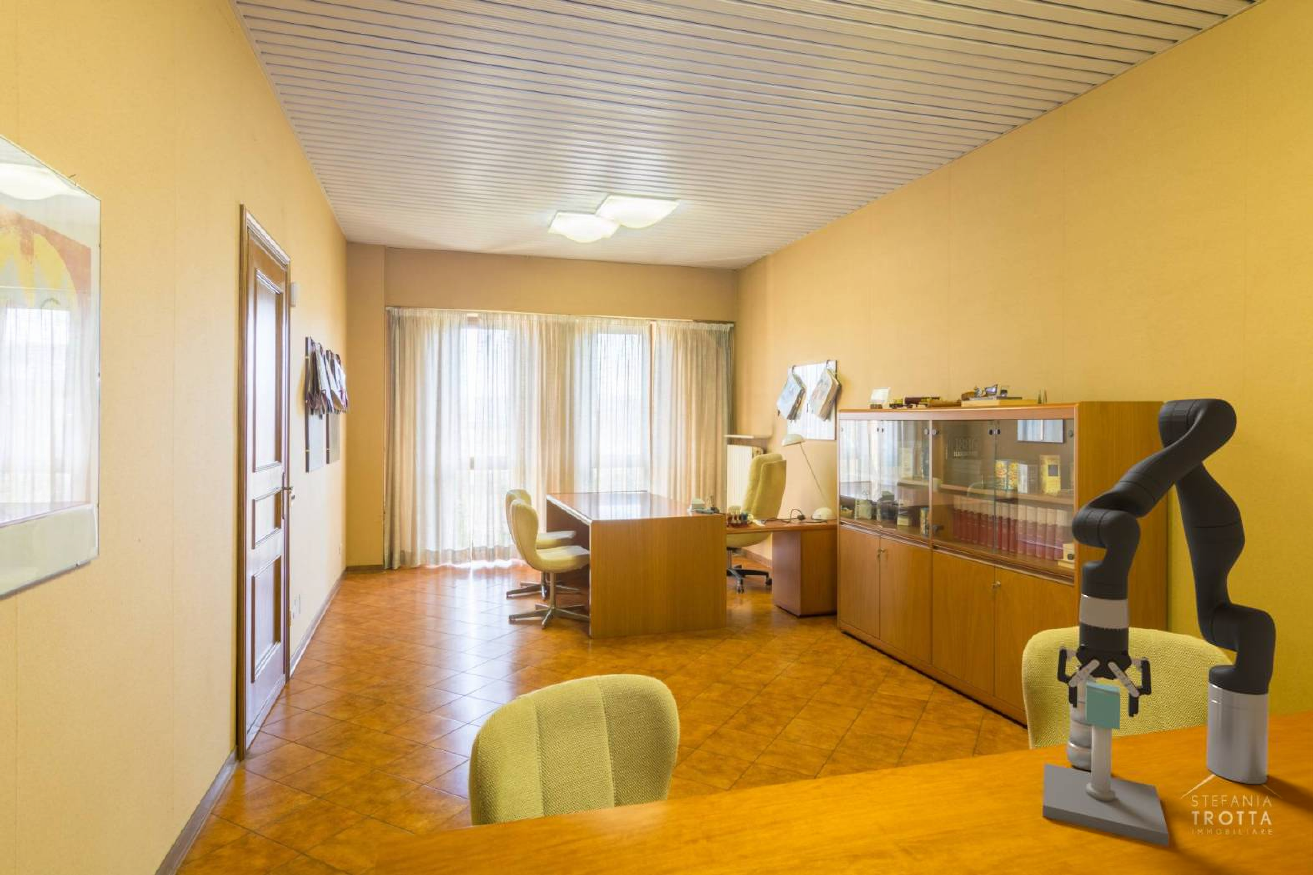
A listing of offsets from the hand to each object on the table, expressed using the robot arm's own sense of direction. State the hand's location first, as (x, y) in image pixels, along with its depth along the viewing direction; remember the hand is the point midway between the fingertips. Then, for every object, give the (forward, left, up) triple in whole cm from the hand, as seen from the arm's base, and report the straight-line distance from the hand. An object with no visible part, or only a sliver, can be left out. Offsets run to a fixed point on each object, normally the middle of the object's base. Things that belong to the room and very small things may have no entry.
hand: (1102, 710), depth 129 cm
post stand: (0, 0, -17) cm, 17 cm away
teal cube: (0, 0, -2) cm, 2 cm away
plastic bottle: (-16, -2, -17) cm, 24 cm away
